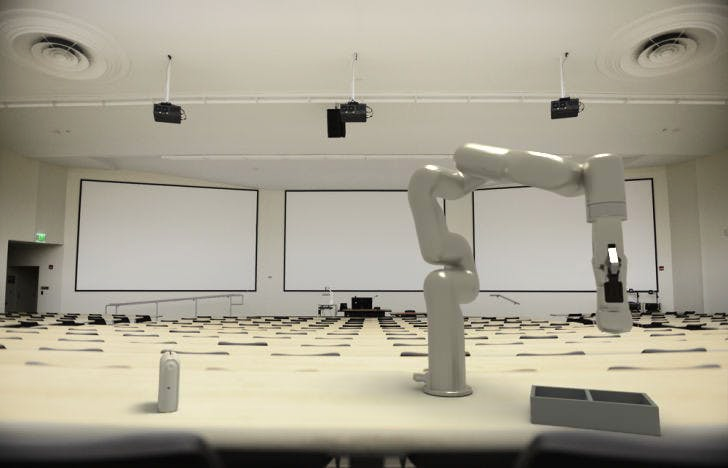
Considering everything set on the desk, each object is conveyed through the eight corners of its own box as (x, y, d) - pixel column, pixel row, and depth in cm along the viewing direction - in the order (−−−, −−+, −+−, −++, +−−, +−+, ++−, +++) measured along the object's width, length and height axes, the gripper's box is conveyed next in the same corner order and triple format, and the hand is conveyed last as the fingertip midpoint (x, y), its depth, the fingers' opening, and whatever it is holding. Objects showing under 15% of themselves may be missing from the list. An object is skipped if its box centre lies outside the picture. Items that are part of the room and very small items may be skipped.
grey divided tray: (531, 423, 91) (530, 396, 91) (532, 408, 102) (531, 385, 102) (660, 435, 83) (658, 406, 83) (647, 418, 94) (645, 392, 94)
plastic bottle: (639, 335, 89) (631, 232, 91) (601, 335, 90) (594, 233, 92) (627, 332, 95) (620, 236, 97) (591, 332, 96) (586, 237, 99)
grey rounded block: (179, 411, 100) (181, 353, 102) (157, 414, 99) (160, 355, 100) (176, 401, 110) (179, 348, 111) (157, 403, 108) (159, 349, 109)
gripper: (583, 220, 105) (588, 301, 102) (589, 208, 89) (595, 303, 87) (620, 218, 102) (626, 301, 100) (634, 206, 86) (641, 303, 84)
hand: (612, 301), depth 93 cm, fingers closed on plastic bottle, 5 cm apart
